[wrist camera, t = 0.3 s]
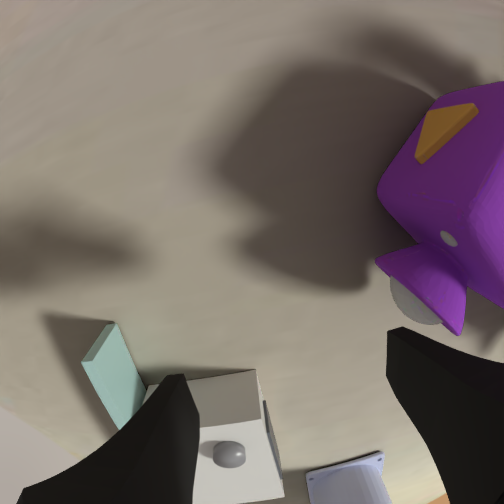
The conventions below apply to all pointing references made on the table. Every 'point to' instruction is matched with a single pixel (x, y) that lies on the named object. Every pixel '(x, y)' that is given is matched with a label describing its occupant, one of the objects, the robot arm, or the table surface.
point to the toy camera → (449, 208)
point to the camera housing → (234, 441)
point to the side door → (114, 375)
